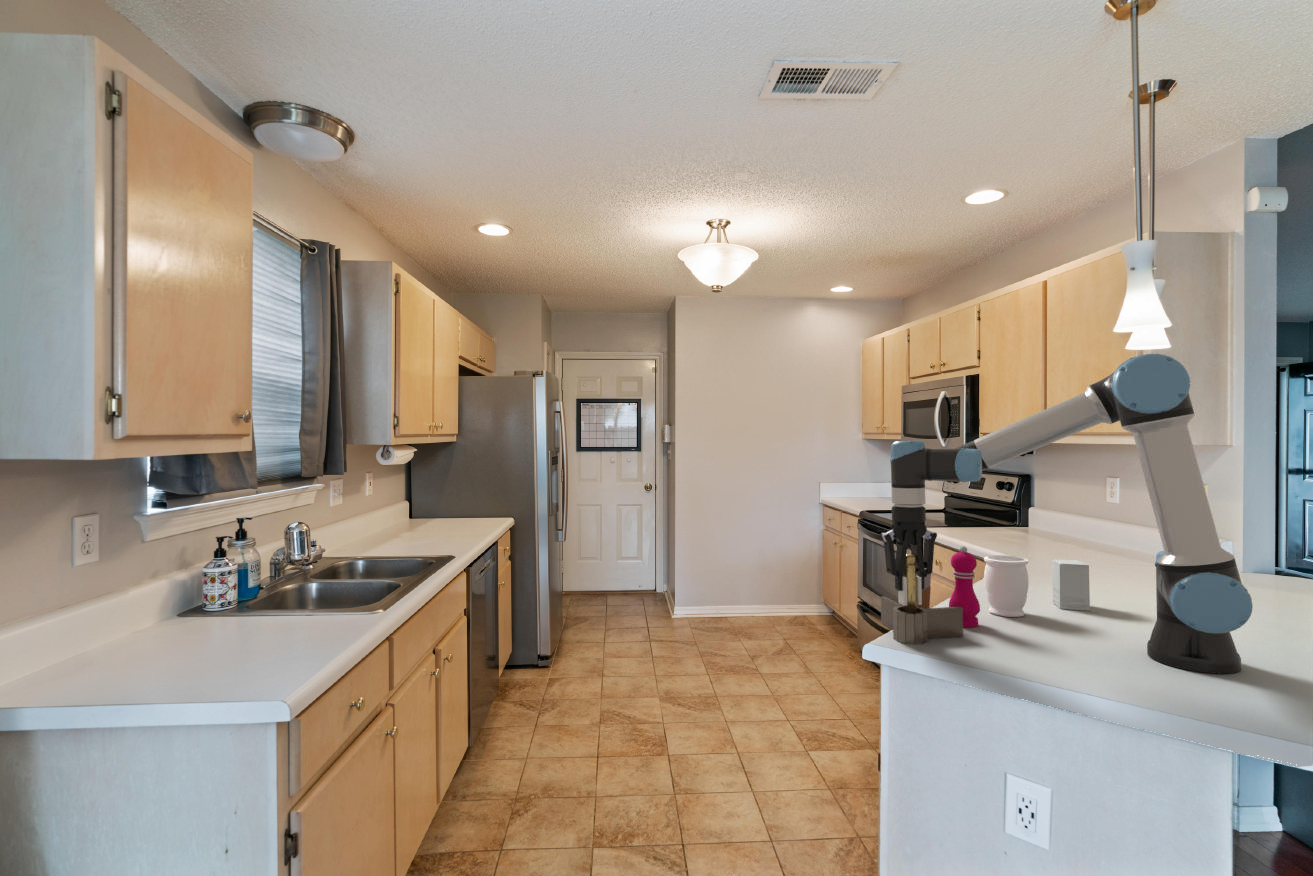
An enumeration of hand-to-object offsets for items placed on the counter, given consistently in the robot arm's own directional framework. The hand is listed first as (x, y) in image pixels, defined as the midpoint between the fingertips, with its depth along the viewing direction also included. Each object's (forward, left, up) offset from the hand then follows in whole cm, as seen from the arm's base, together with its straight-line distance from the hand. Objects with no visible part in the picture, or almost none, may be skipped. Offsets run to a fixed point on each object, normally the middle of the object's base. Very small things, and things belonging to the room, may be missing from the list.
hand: (910, 603), depth 150 cm
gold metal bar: (0, 0, -4) cm, 4 cm away
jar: (+16, -37, -9) cm, 41 cm away
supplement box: (+19, -59, -9) cm, 63 cm away
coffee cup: (+15, -10, -9) cm, 20 cm away
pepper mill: (+9, -20, -9) cm, 24 cm away
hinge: (+5, -5, -9) cm, 11 cm away
